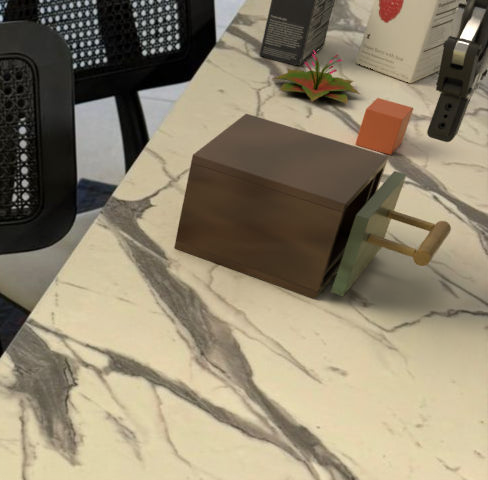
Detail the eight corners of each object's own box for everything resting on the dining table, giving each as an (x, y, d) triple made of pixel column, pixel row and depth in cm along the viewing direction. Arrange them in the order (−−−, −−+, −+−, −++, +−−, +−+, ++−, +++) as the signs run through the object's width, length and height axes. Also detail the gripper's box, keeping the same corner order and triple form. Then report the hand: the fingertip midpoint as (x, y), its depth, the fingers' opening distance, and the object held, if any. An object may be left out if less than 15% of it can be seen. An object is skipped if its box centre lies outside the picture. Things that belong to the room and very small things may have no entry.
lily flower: (263, 97, 131) (271, 61, 128) (275, 67, 139) (284, 32, 136) (357, 116, 129) (368, 79, 125) (364, 84, 137) (375, 49, 134)
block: (401, 143, 123) (413, 107, 120) (390, 155, 120) (403, 118, 117) (366, 133, 125) (377, 97, 122) (354, 144, 122) (366, 108, 119)
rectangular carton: (352, 64, 143) (386, -53, 133) (385, 51, 148) (420, -63, 138) (410, 85, 138) (450, -35, 128) (442, 71, 143) (482, -45, 133)
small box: (281, 36, 149) (300, -42, 142) (324, 47, 147) (345, -32, 140) (255, 55, 142) (274, -25, 135) (300, 67, 140) (321, -14, 133)
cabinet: (358, 247, 103) (388, 156, 96) (315, 299, 95) (345, 204, 88) (225, 202, 108) (246, 113, 102) (173, 248, 100) (192, 154, 93)
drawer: (438, 267, 99) (468, 193, 94) (404, 318, 91) (435, 240, 86) (254, 206, 106) (272, 133, 101) (208, 248, 98) (226, 172, 93)
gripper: (559, -62, 70) (465, 176, 81) (591, -94, 78) (502, 125, 90) (449, -85, 72) (374, 149, 84) (492, -114, 81) (418, 102, 93)
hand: (440, 136), depth 87 cm, fingers closed
